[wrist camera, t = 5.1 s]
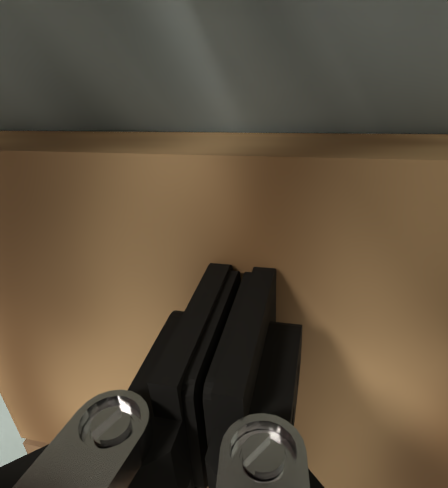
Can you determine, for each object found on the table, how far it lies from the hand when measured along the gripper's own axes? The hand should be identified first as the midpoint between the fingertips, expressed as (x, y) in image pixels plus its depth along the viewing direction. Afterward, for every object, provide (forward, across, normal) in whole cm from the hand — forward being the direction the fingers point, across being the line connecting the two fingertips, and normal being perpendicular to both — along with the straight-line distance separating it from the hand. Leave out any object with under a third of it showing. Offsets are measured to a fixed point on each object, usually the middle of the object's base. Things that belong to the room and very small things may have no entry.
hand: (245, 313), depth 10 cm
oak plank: (+2, 0, +2) cm, 3 cm away
